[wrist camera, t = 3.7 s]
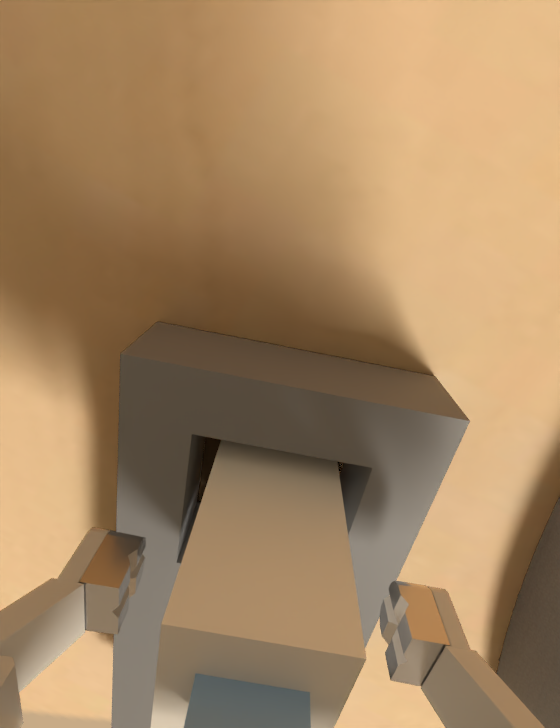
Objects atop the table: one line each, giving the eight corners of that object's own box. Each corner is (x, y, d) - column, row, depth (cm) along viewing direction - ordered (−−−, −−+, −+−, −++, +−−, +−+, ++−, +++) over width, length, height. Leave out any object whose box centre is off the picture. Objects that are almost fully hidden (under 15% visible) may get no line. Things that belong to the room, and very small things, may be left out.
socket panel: (157, 321, 13) (120, 353, 10) (435, 376, 14) (469, 420, 11) (135, 659, 21) (111, 728, 18) (311, 688, 21) (313, 760, 19)
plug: (230, 410, 15) (141, 686, 6) (332, 429, 15) (375, 724, 6) (217, 490, 16) (133, 794, 8) (309, 507, 16) (320, 823, 8)
